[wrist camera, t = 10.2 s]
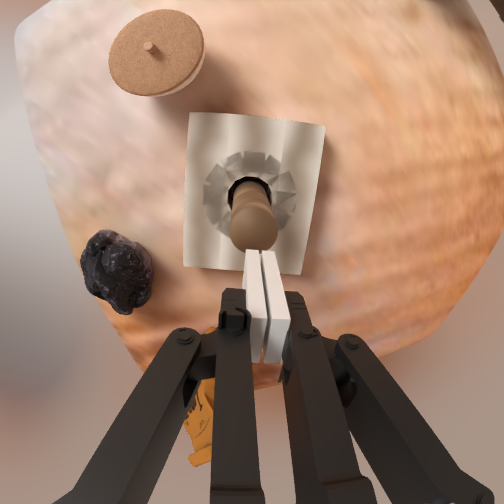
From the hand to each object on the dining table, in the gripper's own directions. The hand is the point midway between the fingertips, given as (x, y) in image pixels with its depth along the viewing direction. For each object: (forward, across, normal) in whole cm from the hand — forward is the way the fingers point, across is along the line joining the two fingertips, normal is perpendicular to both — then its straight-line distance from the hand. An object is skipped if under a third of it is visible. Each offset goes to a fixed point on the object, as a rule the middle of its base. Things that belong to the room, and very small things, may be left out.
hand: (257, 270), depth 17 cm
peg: (+21, 0, 0) cm, 21 cm away
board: (+21, 0, 0) cm, 21 cm away
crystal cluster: (+22, -19, -13) cm, 32 cm away
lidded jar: (+22, -12, +17) cm, 30 cm away
